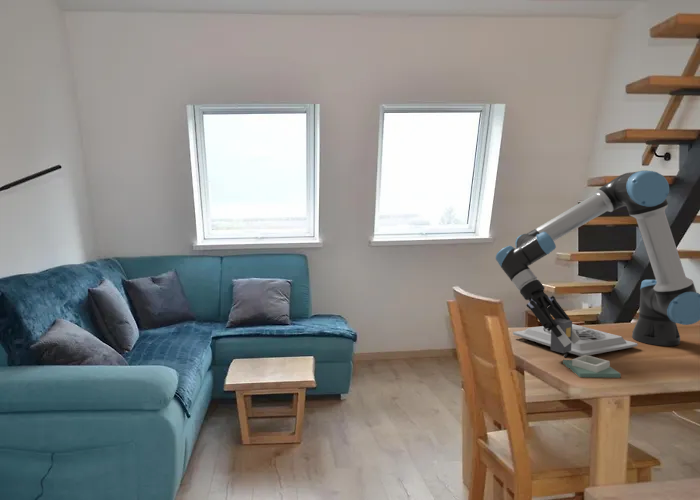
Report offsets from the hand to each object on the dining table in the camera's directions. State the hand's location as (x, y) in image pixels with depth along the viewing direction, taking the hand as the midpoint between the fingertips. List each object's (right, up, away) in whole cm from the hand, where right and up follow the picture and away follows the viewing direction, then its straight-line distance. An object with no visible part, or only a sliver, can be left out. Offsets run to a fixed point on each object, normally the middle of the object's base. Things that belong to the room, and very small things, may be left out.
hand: (572, 342), depth 154 cm
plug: (-2, -3, +4) cm, 5 cm away
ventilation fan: (+10, -5, +22) cm, 25 cm away
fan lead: (+3, -6, +10) cm, 12 cm away
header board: (+3, -7, -5) cm, 10 cm away
